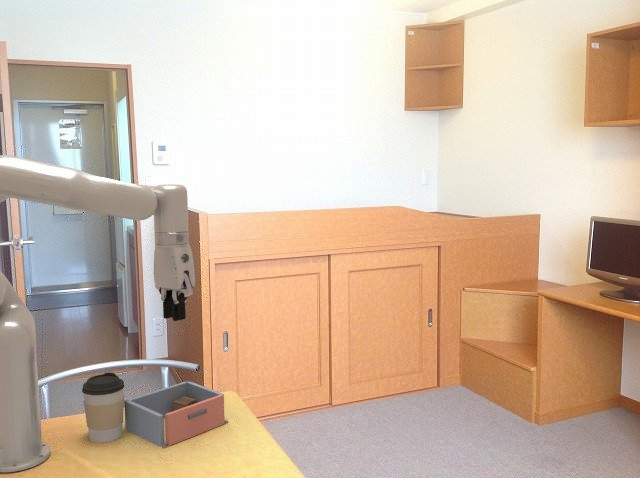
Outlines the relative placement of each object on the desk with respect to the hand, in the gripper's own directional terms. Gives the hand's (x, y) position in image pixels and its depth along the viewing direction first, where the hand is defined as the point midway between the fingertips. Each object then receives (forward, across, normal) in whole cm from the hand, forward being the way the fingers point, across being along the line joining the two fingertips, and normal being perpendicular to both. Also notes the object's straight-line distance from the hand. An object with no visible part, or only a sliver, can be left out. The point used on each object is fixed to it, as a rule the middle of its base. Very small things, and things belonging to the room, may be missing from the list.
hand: (174, 317), depth 146 cm
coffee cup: (+27, +8, +14) cm, 32 cm away
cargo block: (+27, +4, -5) cm, 28 cm away
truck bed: (+27, +1, 0) cm, 27 cm away
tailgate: (+26, -7, 0) cm, 27 cm away
